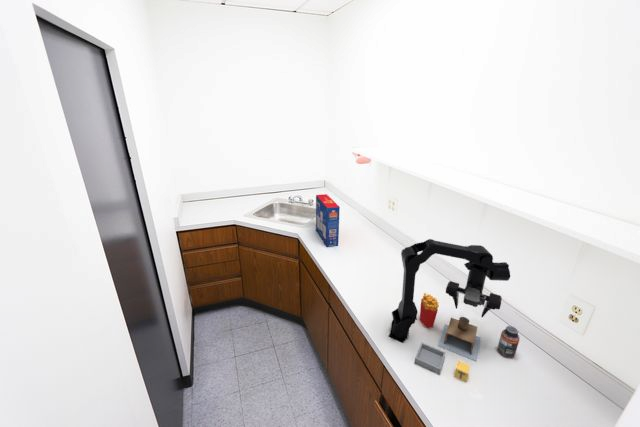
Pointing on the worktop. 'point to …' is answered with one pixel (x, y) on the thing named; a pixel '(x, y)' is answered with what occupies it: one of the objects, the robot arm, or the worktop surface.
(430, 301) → the french fries
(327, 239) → the pasta box
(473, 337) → the brown knobbed box
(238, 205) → the worktop surface
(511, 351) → the supplement bottle
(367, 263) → the worktop surface
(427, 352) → the tray
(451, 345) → the mat
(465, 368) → the letter cube
